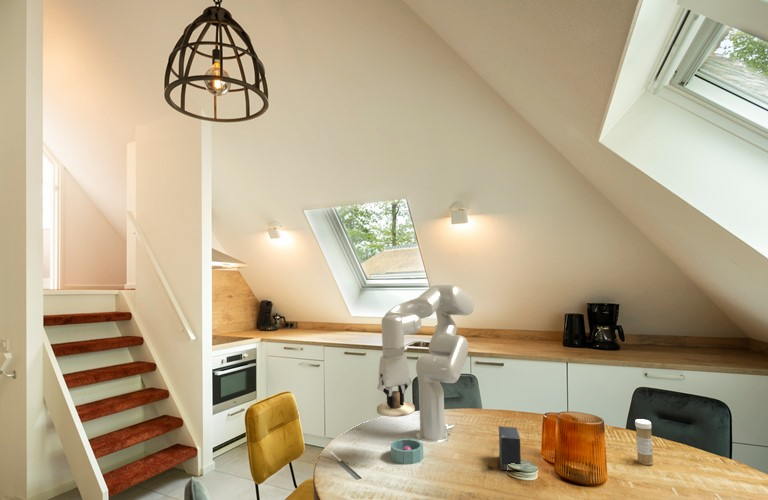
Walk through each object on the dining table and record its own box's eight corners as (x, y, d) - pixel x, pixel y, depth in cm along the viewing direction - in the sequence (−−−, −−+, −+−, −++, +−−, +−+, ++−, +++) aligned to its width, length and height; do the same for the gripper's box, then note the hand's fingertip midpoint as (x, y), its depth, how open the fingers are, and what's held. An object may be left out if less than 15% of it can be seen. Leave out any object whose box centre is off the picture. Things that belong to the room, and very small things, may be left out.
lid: (402, 401, 153) (401, 384, 153) (422, 411, 141) (421, 393, 142) (370, 408, 146) (369, 391, 147) (388, 419, 135) (388, 400, 135)
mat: (375, 453, 149) (375, 451, 149) (397, 469, 136) (397, 467, 136) (336, 463, 142) (336, 461, 142) (356, 481, 129) (356, 479, 129)
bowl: (411, 450, 151) (411, 436, 151) (429, 462, 141) (429, 446, 142) (385, 457, 145) (384, 443, 146) (402, 470, 136) (401, 454, 136)
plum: (408, 453, 146) (408, 443, 146) (414, 457, 143) (414, 446, 143) (399, 456, 144) (399, 445, 144) (405, 460, 141) (405, 449, 141)
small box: (522, 472, 133) (521, 438, 134) (501, 470, 134) (499, 437, 135) (518, 458, 143) (517, 426, 144) (498, 456, 145) (497, 425, 145)
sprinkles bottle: (642, 458, 141) (640, 417, 142) (656, 464, 137) (654, 421, 138) (634, 461, 139) (631, 420, 140) (648, 466, 135) (645, 424, 136)
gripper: (408, 347, 152) (410, 398, 151) (367, 353, 144) (369, 407, 143) (419, 350, 145) (421, 404, 145) (377, 357, 137) (379, 413, 137)
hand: (395, 405), depth 144 cm, fingers closed on lid, 3 cm apart
